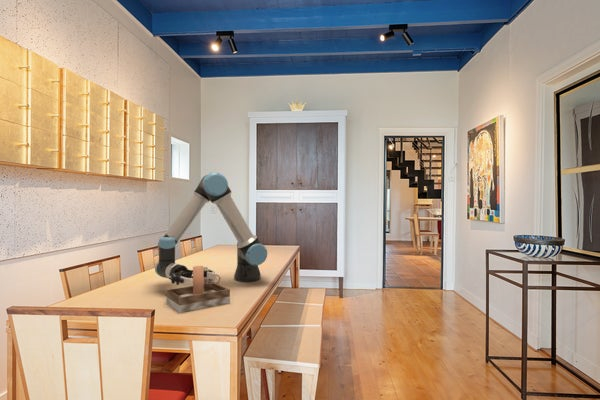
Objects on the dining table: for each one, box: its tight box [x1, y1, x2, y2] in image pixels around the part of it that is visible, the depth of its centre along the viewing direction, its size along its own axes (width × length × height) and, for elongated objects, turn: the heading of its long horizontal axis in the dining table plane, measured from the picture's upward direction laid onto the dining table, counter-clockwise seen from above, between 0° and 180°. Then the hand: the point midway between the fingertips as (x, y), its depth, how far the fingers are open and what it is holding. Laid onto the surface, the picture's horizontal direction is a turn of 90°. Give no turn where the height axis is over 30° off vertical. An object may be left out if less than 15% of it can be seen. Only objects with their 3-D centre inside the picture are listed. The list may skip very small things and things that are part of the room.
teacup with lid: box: [204, 266, 222, 285], centre depth 175 cm, size 12×9×12 cm
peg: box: [192, 265, 205, 295], centre depth 152 cm, size 4×4×16 cm
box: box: [166, 282, 231, 314], centre depth 152 cm, size 22×16×6 cm
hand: (202, 279), depth 149 cm, fingers open, 13 cm apart
